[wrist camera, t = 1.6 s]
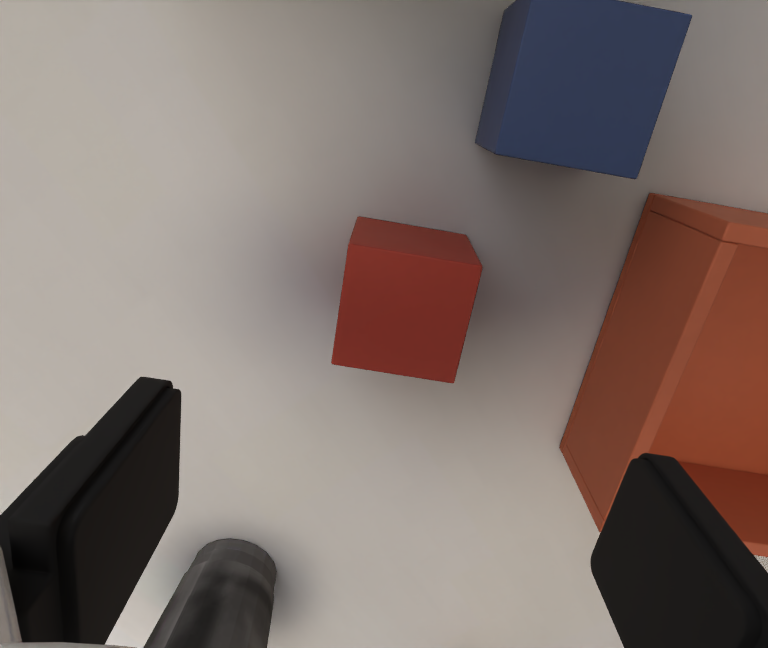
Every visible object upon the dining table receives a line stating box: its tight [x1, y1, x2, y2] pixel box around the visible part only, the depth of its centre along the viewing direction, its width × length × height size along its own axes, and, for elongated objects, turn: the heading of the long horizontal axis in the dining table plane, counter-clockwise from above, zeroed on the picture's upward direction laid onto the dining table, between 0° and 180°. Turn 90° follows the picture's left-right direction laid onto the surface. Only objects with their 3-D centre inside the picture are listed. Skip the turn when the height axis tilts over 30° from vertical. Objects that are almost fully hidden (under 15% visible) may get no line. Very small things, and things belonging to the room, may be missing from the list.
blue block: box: [475, 0, 692, 179], centre depth 18 cm, size 4×4×4 cm
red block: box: [331, 217, 483, 383], centre depth 21 cm, size 4×4×4 cm
